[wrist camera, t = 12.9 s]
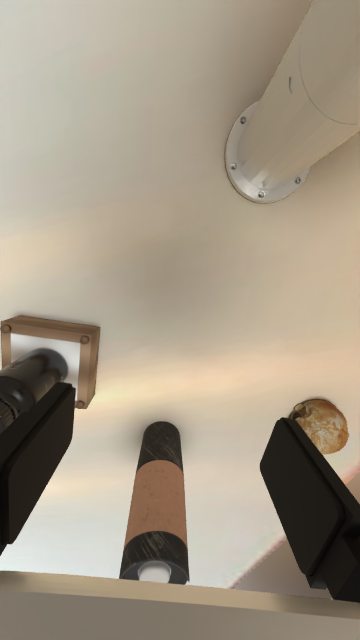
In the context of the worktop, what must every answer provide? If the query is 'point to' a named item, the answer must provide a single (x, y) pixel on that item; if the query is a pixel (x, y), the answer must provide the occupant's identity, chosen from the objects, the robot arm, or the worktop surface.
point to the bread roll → (322, 425)
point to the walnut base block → (56, 349)
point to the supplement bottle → (28, 382)
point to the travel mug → (157, 512)
